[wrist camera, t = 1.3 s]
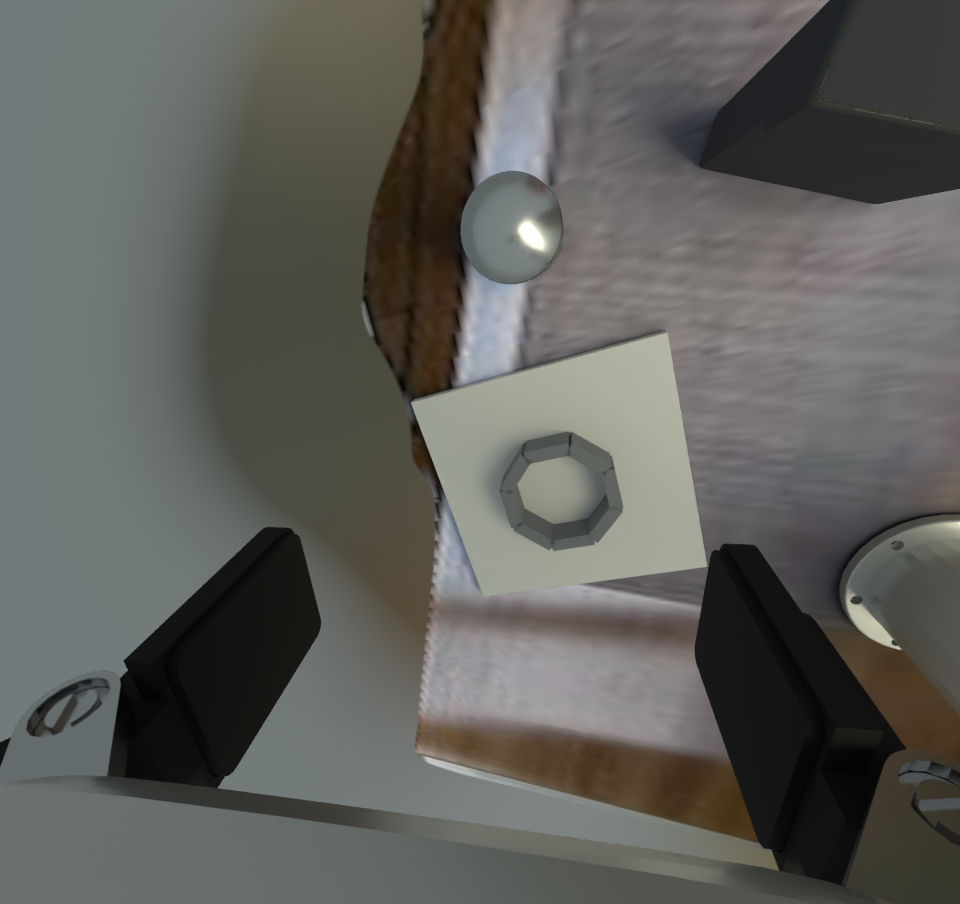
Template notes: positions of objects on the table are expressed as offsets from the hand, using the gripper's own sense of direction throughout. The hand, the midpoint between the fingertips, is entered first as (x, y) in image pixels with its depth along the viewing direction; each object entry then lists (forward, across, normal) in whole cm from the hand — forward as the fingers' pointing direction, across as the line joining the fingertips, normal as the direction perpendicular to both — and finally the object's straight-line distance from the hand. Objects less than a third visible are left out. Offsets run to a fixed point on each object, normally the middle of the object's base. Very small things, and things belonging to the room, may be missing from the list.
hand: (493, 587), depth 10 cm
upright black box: (+27, -16, -11) cm, 33 cm away
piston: (+27, +1, -8) cm, 28 cm away
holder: (+27, -2, +11) cm, 29 cm away
